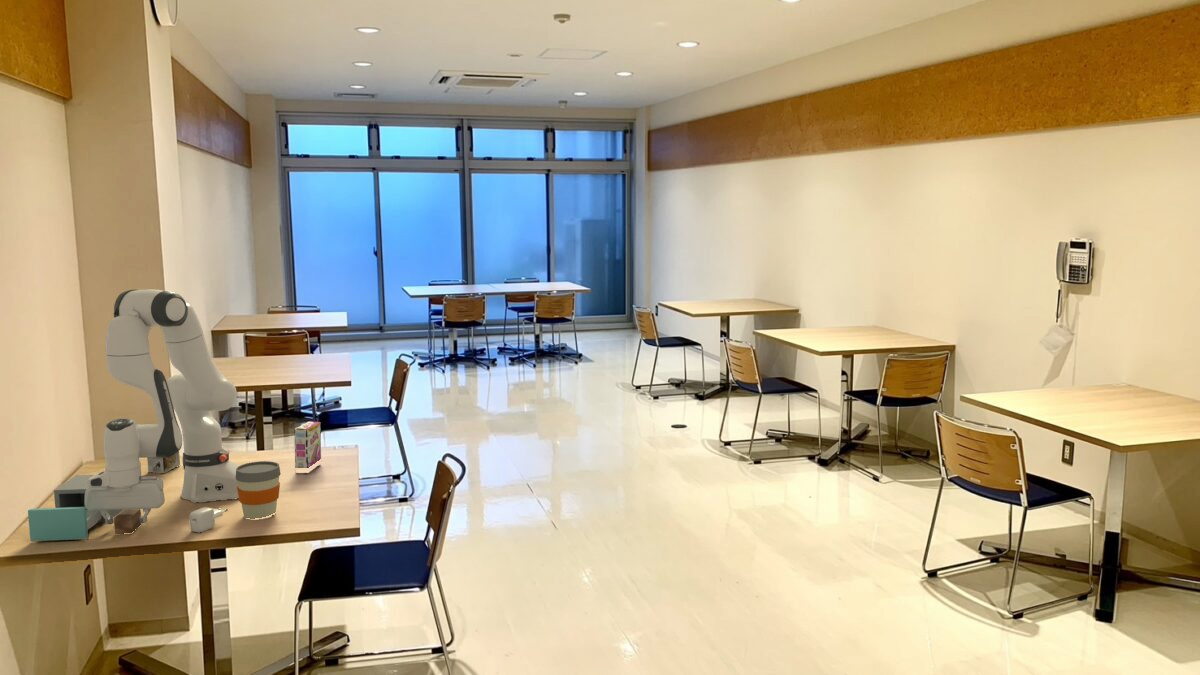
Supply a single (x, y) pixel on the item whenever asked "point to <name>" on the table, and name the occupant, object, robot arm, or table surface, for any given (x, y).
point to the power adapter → (204, 518)
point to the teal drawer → (61, 523)
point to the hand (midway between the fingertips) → (126, 523)
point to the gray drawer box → (75, 494)
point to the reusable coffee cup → (258, 488)
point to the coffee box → (163, 463)
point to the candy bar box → (307, 444)
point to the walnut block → (127, 521)
